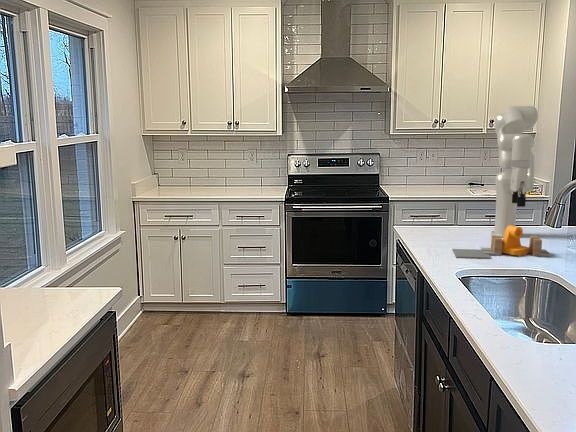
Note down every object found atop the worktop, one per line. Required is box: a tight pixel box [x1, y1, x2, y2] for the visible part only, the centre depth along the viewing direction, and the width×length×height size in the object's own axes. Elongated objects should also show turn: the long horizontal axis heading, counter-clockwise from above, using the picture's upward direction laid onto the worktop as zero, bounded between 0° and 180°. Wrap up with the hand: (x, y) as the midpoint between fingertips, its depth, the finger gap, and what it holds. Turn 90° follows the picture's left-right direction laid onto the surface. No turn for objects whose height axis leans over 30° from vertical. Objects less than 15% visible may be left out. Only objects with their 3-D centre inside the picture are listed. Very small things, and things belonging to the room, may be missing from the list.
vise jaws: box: [480, 234, 553, 258], centre depth 242 cm, size 10×27×7 cm, turn 80°
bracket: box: [502, 225, 530, 257], centre depth 242 cm, size 11×7×12 cm, turn 120°
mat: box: [452, 248, 492, 260], centre depth 242 cm, size 14×14×1 cm
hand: (518, 204), depth 239 cm, fingers open, 9 cm apart
